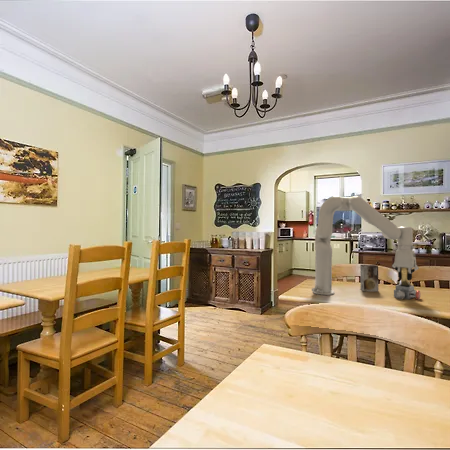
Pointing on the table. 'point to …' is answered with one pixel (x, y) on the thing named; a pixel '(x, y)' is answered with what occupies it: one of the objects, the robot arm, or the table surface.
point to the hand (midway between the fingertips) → (405, 279)
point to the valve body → (406, 292)
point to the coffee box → (369, 277)
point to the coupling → (404, 276)
